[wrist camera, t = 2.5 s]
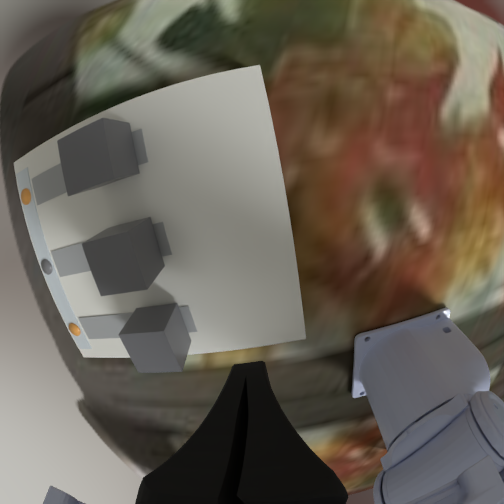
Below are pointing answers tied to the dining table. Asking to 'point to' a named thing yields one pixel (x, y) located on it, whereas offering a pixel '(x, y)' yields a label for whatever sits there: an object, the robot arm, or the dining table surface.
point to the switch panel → (178, 219)
